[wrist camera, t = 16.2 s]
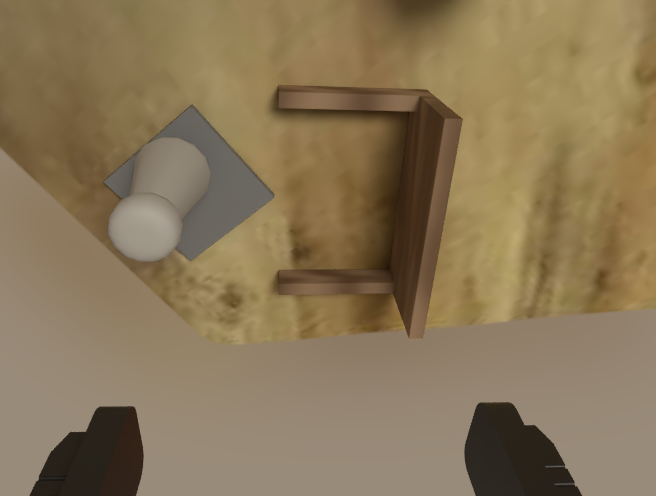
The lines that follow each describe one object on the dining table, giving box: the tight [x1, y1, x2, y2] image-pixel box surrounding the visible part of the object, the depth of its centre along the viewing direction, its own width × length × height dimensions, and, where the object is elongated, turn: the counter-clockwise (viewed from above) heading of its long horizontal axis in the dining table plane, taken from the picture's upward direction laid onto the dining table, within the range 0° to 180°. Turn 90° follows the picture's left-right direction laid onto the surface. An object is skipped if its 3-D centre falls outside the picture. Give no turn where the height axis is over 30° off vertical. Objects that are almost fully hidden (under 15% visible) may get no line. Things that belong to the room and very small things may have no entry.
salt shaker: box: [108, 137, 211, 262], centre depth 35 cm, size 6×6×13 cm
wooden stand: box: [279, 85, 463, 338], centre depth 40 cm, size 12×18×9 cm, turn 177°
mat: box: [104, 105, 274, 261], centre depth 42 cm, size 10×10×1 cm
